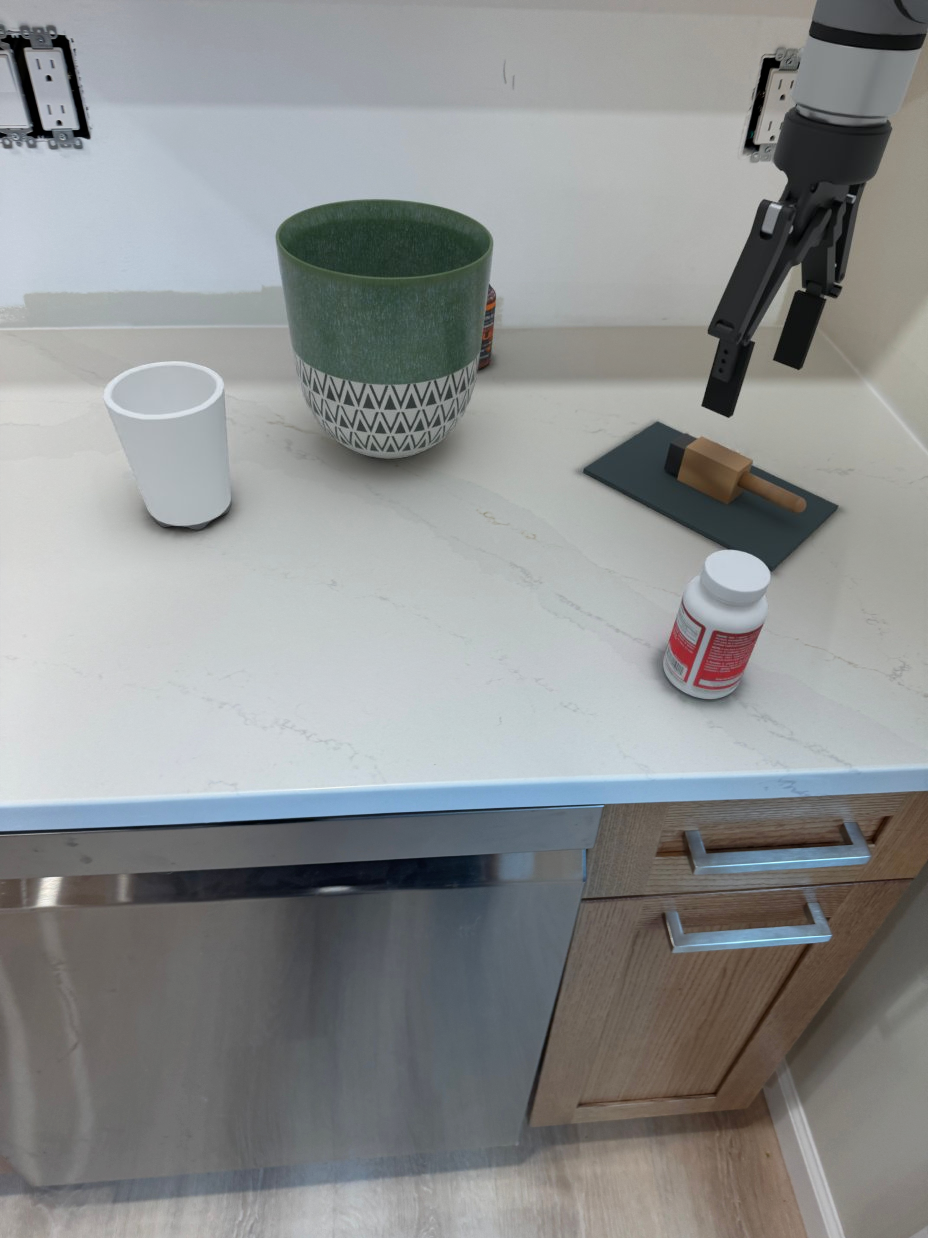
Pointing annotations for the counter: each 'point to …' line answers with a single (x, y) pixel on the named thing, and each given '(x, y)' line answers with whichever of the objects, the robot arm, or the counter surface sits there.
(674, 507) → the mat
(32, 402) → the counter surface
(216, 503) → the cup
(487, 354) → the supplement bottle
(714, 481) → the scrub brush
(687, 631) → the pill bottle
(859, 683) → the counter surface
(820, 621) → the counter surface
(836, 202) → the robot arm
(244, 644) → the counter surface
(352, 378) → the planter
